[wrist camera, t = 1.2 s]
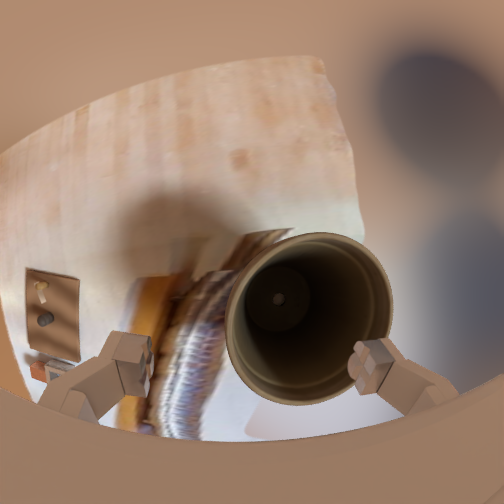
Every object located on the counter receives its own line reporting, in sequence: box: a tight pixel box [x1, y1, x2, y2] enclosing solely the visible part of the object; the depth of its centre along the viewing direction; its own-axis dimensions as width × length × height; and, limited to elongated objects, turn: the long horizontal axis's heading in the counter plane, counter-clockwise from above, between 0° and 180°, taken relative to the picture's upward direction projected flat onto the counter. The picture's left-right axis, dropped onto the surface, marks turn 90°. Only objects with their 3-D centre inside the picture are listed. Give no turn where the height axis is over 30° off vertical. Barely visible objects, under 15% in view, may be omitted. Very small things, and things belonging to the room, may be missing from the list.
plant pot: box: [224, 232, 393, 406], centre depth 44 cm, size 25×25×22 cm
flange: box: [30, 359, 75, 385], centre depth 43 cm, size 11×6×4 cm, turn 83°
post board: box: [27, 270, 81, 363], centre depth 42 cm, size 18×14×6 cm
